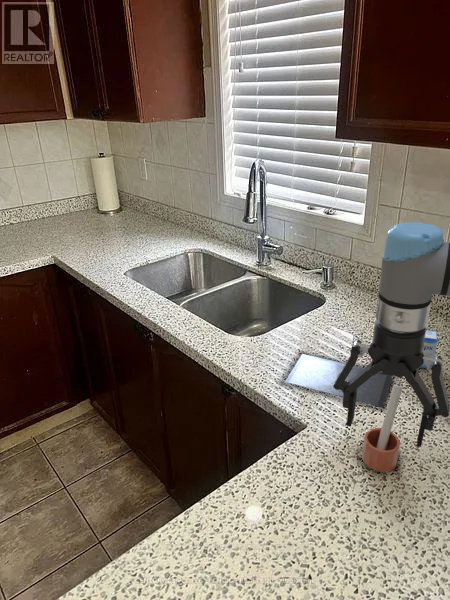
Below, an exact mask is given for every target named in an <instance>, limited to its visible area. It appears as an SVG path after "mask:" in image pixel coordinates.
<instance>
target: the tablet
mask: <svg viewBox="0 0 450 600" xmlns="http://www.w3.org/2000/svg"><path fill="white" fill-rule="evenodd" d="M345 364H346V363H344V362H339V361H335V360H331V359H325V358H322V357H317V356H314V355H309V354H304V353H302V354H301V355H300V357H299V358H298V360H297V362H296V363H295V364H294V366H293V368H292V369H291V371H290V373H289V374H288V376H287V377H286V379H285V380H284V383H287V384H291V385H295V386H298V387H301V388H302V387H303V388H306V389H310V390H313V391H317V392H321V393H325V394H329V395H333V396H336V397H340V398H343V395H344V394H343V392H342V391H341V390H340V389H339V390H336V389H335V388H334V387H333V386H334V383H335V381H336V379H337V377H338V375H339V374H340V372H341V370H342V369H343V367H344V365H345ZM364 368H365V367H360V366H356V365H354V367H353V368H352V370H351V371H350V373H349V375H348V376H347V378H346V380H345V381H346V382H349V381H350V380H351V379H352V378H353V377H354V376H356V375H357V374H358V373H359V372H360V371H361V370H363V369H364ZM392 377H393V375H387V374H383V373H382V372H381V371H379V372H378V373H377V374H375V375H374V376H371V377H370V378H369V379H368V380H367V381H365V382H364V383H363V384H362V385H361V386H359V387H358V388H357V396H356V402H359V403H363V404H367V405H369V406H370V405H371V406H374V407H377V408H381V409H382V408H383V407H384V405H385V401H386V397H387V394H388V392H389V388H390V386H391V381H392ZM348 380H349V381H348Z"/></svg>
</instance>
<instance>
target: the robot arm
mask: <svg viewBox="0 0 450 600" xmlns="http://www.w3.org/2000/svg"><path fill="white" fill-rule="evenodd" d="M381 259H382V260H381V268H380V269H381V270H380V278H379V286H378V287H379V288H378V296H377V303H376V310H375V322H374V326H373V335H372V342H371V343H370V344H366V343H362V341H361V340H360V339H355V340H354V341H353V343H352V346H351V348H350V355H349V357H348V358H347V360H346V362H345V363H344V364H345V365H344V367H343V369H342V370H341V372H340V374H339V375H338V377H337V379H336V381H335V383H334V386H333V387H334V388H335V389H336V390H339V389H340V390H341V391H342V392H343V394H344V395H343V397H342V407H343V408H344V409H347V416H346V417H347V418H346V427H350V428H351V427H352V424H353V422H354V419H355V412H356V404H357V401H356V396H357V388H358V387H359V386H361V385H362V384H363V383H364V382H365V381H367V380H368V379H369V378H370V377H371V376H374V375H375V374H377V373H378V372H382V373H383V374H387V375H392V376H394V377H397V378H400V379H402V378H404V379H405V381H406V382H407V384H408V385H410V387H411V388H412V390H413V392H414V394H415V396H416V397H417V399H418V400H419V402H420V404H421V405H422V407H423V410H422V414H421V419H420V425H419V430H418V435H417V439H416V447H418V448H422V445H423V440H424V435H425V431H430V432H431V431H433V429H434V426H435V425H434V424H435V422H436V421H435V420H436V418H437V417H439V416H441V417H443V418H448V417H449V415H450V399H449V396H448V393H447V389H446V384H445V381H444V376H443V372H442V367H443V359H444V358H443V357H442V356H440V355H436V356H434V358H430V357H425V356H424V355H423V352H422V349H423V344H424V339H425V333H426V330H427V329H426V327H427V326H428V322H429V317H430V310H431V305H432V299H433V295H438V296H444V297H446V296H447V297H450V242H449V241H445V238H444V232H443V229H441V228H440V227H439V226H436V225H434V224H426V223H425V222H414V221H413V222H410V221H409V222H408V221H407V222H401V223H398V224H395V225H393V226H392V227H390V229H389V230H388V231H387V233H386V238H385V244H384V248H383V254H382V258H381ZM365 354H368V356H369V357H370V362H369V363H368V364H367V365H366V366H365V367H363V368H364V369H363V370H361V371H360V372H359V373H358V374H357V375H356V376H354V377H353V378H352V379H351V380H350V381H349V380H348V381H349V382H346V381H345V380H346V378H347V376H348V375H349V373H350V371H351V370H352V368H353V367H354V366H356V364H357V361H358V360H359V358H363V357H364V355H365ZM422 365H425V366H426V367H427V369H426V371H428V373H429V374H431V375H430V378H431V383H432V386H433V391H434V394H435V398H436V401H435V399H434V398H433V396H432V394H431V392H430V390H429V389H428V387H427V385H426V384H425V382H424V380H423V378H422V376H421V375H420V372H419V369H420V368H419V367H420V366H422Z"/></svg>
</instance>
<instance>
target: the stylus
mask: <svg viewBox="0 0 450 600" xmlns="http://www.w3.org/2000/svg"><path fill="white" fill-rule="evenodd" d="M402 391H403V387H402V386H399V385H396V384H393V385H392V388H391V392H390V397H389V399H388V404H387V407H386V411H385V415H384V418H383V421H382V426H381V428H382V429H381V432H380V436H379V440H378V443H377V447H376V448H377V449H380V450H386V447H387V443H388V439H389V436H390V432H392V428H393V424H394V420H395V417H396V413H397V409H398V406H399V403H400V399H401V395H402Z"/></svg>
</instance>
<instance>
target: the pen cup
mask: <svg viewBox="0 0 450 600" xmlns="http://www.w3.org/2000/svg"><path fill="white" fill-rule="evenodd" d="M381 429H382V427H374V428H370V429H369V430H367V431H365V434H364V437H363V443H362V444H363V445H362V452H361V458H362V461H363V463H364V464H365V465H366V466H367V467H368V468H370V469H372V470H373V471H376V472H381V473H387V472H391V471H392V472H393V470H394V469H395V468H397V463H398V459H399V458H398V457H399V453H400V446H401V441H400V439H399V437H398V435H396V434H395V433H394V432H393V431H391V432H390V436H389V439H388V443H387V447H386V450H380V449H377V448H376V447H377V443H378V440H379V436H380V432H381Z"/></svg>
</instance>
